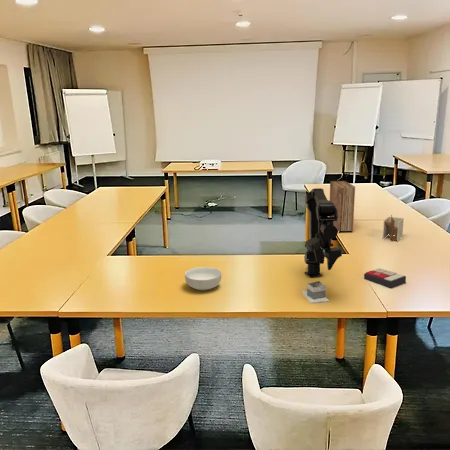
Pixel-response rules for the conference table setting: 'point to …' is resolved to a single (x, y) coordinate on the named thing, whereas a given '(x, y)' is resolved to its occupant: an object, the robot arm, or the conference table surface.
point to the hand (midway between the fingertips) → (323, 266)
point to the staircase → (393, 227)
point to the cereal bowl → (203, 278)
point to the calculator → (385, 278)
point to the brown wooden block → (343, 204)
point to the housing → (316, 290)
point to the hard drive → (320, 300)
